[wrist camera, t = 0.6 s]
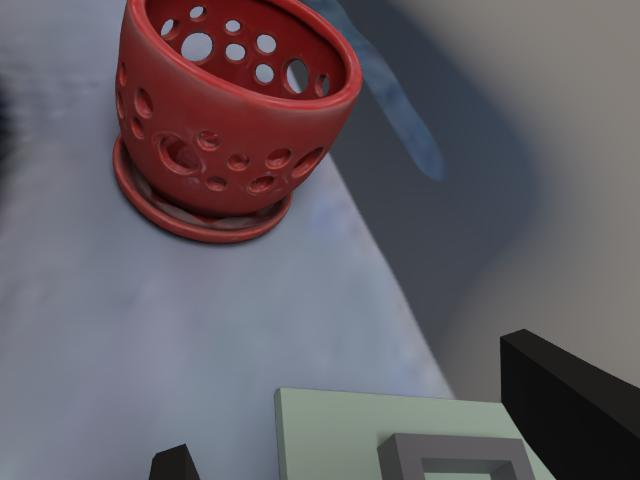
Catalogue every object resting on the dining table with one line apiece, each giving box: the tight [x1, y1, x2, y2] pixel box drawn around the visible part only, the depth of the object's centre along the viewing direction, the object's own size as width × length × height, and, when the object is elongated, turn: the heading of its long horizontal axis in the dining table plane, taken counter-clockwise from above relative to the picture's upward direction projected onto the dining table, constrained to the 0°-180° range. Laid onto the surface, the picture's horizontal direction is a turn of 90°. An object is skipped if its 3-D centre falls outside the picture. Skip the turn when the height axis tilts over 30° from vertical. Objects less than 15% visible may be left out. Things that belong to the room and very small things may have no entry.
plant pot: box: [113, 0, 362, 243], centre depth 36 cm, size 13×13×12 cm
